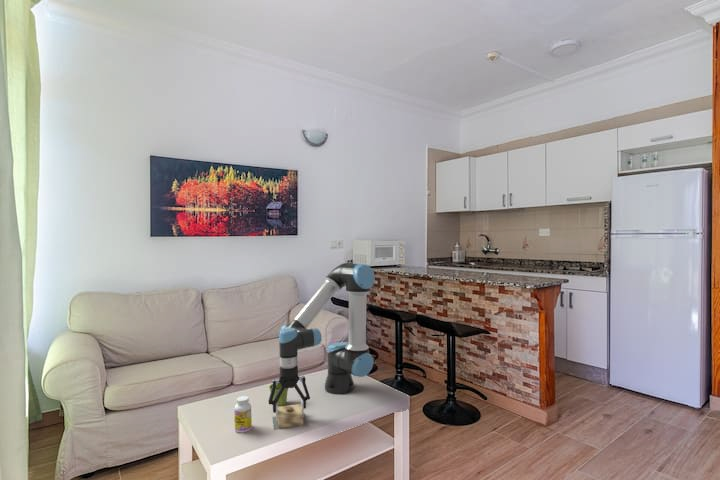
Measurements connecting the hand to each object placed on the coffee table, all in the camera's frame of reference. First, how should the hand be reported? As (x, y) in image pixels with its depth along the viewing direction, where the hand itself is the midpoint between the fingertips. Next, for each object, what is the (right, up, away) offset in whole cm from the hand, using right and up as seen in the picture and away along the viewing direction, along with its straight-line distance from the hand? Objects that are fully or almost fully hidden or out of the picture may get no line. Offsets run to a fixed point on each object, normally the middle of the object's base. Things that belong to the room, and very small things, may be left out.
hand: (289, 417), depth 168 cm
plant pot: (-8, -2, +18) cm, 19 cm away
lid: (0, -1, 0) cm, 1 cm away
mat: (0, -2, 0) cm, 2 cm away
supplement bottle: (-18, -2, -6) cm, 19 cm away
